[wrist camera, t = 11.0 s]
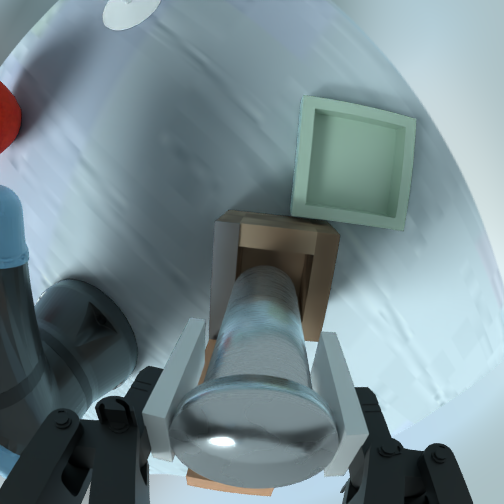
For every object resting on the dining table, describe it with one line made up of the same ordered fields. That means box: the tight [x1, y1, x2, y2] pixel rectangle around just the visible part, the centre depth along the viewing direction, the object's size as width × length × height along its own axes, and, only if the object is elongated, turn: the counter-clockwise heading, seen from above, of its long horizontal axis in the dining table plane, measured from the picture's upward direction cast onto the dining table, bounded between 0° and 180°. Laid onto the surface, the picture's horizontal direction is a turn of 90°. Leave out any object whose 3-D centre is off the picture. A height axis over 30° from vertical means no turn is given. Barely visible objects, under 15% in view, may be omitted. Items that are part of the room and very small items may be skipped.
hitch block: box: [209, 210, 340, 342], centre depth 26 cm, size 9×14×6 cm, turn 175°
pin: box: [169, 265, 339, 489], centre depth 14 cm, size 6×6×13 cm
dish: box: [290, 95, 416, 231], centre depth 23 cm, size 10×10×3 cm
